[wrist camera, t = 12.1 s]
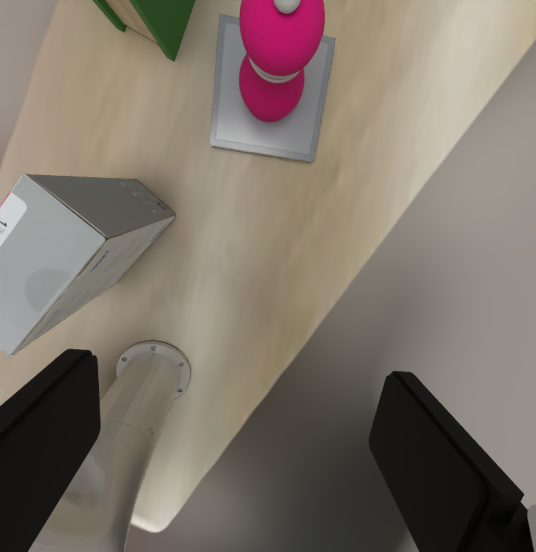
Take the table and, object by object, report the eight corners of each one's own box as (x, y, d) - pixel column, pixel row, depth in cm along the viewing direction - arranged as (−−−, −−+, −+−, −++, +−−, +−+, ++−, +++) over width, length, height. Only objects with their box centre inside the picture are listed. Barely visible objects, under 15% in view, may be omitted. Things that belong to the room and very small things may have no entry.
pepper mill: (308, 81, 34) (377, -48, 15) (280, 138, 36) (310, 84, 17) (257, 47, 33) (262, -142, 14) (230, 107, 35) (203, 12, 16)
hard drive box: (135, 176, 39) (25, 167, 20) (177, 215, 41) (113, 239, 22) (73, 253, 42) (-75, 308, 23) (115, 285, 44) (11, 360, 25)
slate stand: (309, 163, 40) (313, 161, 37) (212, 147, 38) (209, 144, 36) (330, 48, 36) (336, 37, 33) (221, 25, 34) (219, 12, 32)
